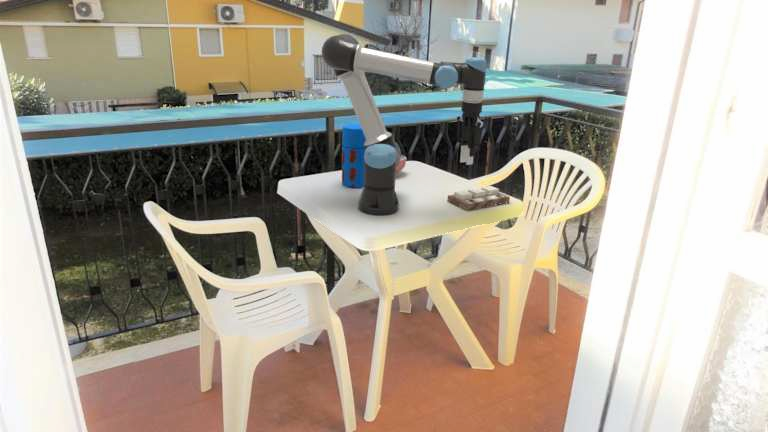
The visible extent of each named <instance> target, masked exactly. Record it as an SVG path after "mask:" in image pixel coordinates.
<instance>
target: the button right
mask: <svg viewBox="0 0 768 432" xmlns="http://www.w3.org/2000/svg"><path fill="white" fill-rule="evenodd" d="M480 189H481V190H484V191H486V195H488V196H491V195H497V194H499V193H500V189H499V188H498V187H494V186H492V185H487V186H481V188H480Z"/></svg>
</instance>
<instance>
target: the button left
mask: <svg viewBox="0 0 768 432" xmlns="http://www.w3.org/2000/svg"><path fill="white" fill-rule="evenodd" d="M453 195H454V197H455V198H457V199H459V200H461V201H463V200H469V199H472V193H470V192H468V190H467V191H466V190H465V189H464V190H458V191H457V190H456V191H454V193H453Z"/></svg>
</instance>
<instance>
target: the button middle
mask: <svg viewBox="0 0 768 432" xmlns="http://www.w3.org/2000/svg"><path fill="white" fill-rule="evenodd" d="M467 192H470V193H472V197H474V198H480V197H485V196H486V191H484V190H481V188H478V187H476V188H475V187H474V188H470V189H469V188H468V189H467Z"/></svg>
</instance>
